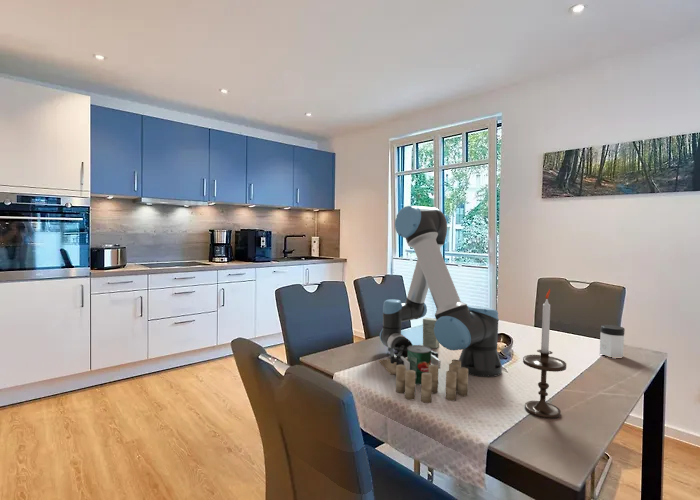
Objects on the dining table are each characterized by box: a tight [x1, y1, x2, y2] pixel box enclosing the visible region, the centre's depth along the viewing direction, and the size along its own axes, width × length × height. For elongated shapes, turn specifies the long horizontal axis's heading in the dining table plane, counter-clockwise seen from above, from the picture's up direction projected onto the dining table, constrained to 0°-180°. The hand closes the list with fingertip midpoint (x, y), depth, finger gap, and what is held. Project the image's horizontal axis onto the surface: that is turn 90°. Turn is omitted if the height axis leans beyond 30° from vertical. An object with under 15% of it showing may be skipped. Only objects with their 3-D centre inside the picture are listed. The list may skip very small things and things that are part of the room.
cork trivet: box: [378, 357, 407, 376], centre depth 143 cm, size 14×14×1 cm
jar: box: [599, 324, 625, 358], centre depth 159 cm, size 9×8×12 cm
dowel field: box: [395, 359, 469, 404], centre depth 120 cm, size 22×15×8 cm
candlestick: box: [522, 289, 567, 420], centre depth 108 cm, size 11×11×35 cm
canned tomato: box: [406, 344, 432, 386], centre depth 130 cm, size 8×8×11 cm
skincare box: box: [422, 317, 440, 349], centre depth 168 cm, size 6×4×12 cm
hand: (424, 365), depth 125 cm, fingers open, 10 cm apart
